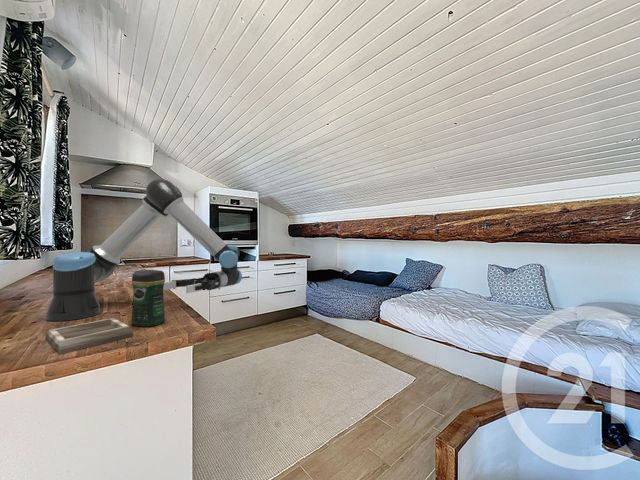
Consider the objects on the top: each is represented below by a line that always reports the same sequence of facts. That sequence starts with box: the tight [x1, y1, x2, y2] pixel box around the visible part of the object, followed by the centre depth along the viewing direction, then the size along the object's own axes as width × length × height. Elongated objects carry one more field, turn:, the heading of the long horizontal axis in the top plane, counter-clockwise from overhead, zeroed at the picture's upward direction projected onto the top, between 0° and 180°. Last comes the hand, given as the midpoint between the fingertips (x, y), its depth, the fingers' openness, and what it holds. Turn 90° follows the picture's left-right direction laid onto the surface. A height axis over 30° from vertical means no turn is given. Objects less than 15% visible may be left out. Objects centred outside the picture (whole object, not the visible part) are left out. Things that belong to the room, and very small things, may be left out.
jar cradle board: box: [45, 317, 134, 355], centre depth 80 cm, size 18×16×3 cm
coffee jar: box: [131, 269, 166, 327], centre depth 93 cm, size 10×8×19 cm
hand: (173, 288), depth 102 cm, fingers open, 13 cm apart
